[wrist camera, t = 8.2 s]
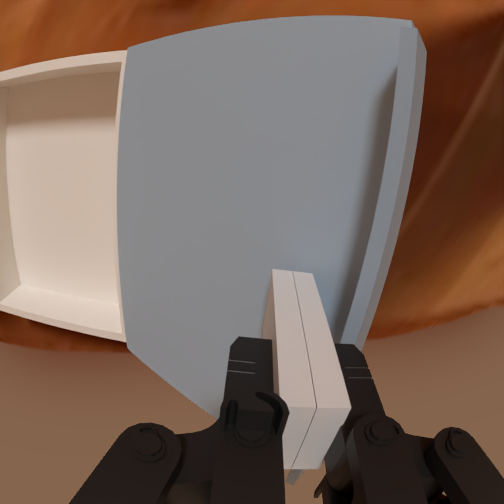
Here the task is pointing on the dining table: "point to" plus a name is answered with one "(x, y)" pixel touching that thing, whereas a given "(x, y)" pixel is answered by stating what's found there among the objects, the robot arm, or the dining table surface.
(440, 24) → the dining table surface
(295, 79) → the lid
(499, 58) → the dining table surface
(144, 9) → the dining table surface
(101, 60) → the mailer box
